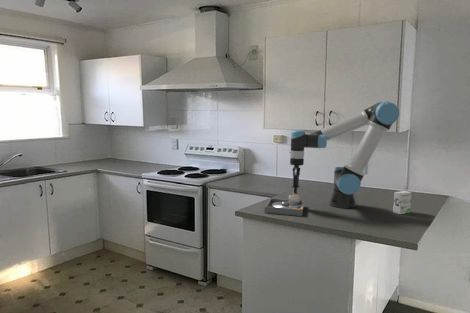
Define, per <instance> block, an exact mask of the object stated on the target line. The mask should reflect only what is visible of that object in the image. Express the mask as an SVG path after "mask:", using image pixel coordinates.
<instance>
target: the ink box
mask: <svg viewBox="0 0 470 313" xmlns="http://www.w3.org/2000/svg"><path fill="white" fill-rule="evenodd" d="M412 196H413V194H412V192H411V191H405V190H402V191H394V195H393V208H392V213H394V214H398V215H403V214H410V213H411V206H412Z"/></svg>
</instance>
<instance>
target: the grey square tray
mask: <svg viewBox="0 0 470 313" xmlns="http://www.w3.org/2000/svg"><path fill="white" fill-rule="evenodd" d="M283 201H286V202H289V199H285V198H283V199H282V198H273V197H271V198H270V197H269V199H268V201H267V202H266V205H265V206H264V213H265V214H272V215H284V216H295V217H297V216H298V217H302V216H303V212H304V209H305V200H299V208H298V209H297V208H293V209H291V208H279V207H272V203H275V202H283Z"/></svg>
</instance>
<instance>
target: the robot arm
mask: <svg viewBox="0 0 470 313" xmlns="http://www.w3.org/2000/svg"><path fill="white" fill-rule="evenodd" d="M399 116H400V109H399V107H398V106H397V105H396V104H395V103H394V102H391V101H379V102H376V103H375V104H373V105H371V106H370V107H368V108H365V109H363V110H362V111H361V112H360V113H358V114H356V115H353V116H351V117H348V118H346V119H343V120H341V121H339V122H336V123H334V124H332V125H329V126H327V127H324V128H322V129H320V130H317V131H314V132H311V133H309V134H308V133H306V131H305V130H300V129H296V130H295V129H294V130H292V131H291V136H290V151H289V154H290V161H289V164H290V166H293V168H292V178H293V181H292V186H291V188H292V195H295V194H299V188H300V186H301V185H299V183H300V182H299V181H300V174H301V167H300V166H304V165H305V164H304V162H305V159H304V158H305V148H306V149H307V148H313V149H326V148H327V142H328V141H330V140H333V139H335V138H338V137H341V136H343V135H345V134H348V133H350V132H353V131H355V130H358V129H360V128H362V127H365V126H368V128H367V129H366V131H365V133H364V135H363V137H362V138H361V139H360V142H359V144H358V145H357V148H356V150H355V152H354V153H353V155H352V157H351V159H350V161H349V162H348V164H345V165H344V166H336V167H334V171H333V173H334V176H333V189H332V194H331V197H330V198H329V205H330V206H332V207H334V208H339V209H353V208H356V207H357V203H356V202H357V201H356V197H355V194H356V193H357V192H358V191H359V190H360V189H361V184H362V183H361V182H362V180H363V179H364V176H365V174H364V173H365V172H364V170H365V169H366V167H367V165H368V164H369V162H370V160H371V158H372V156H373V154H374V153H375V150H376V149H377V147H378V145H379V143H380V142H381V139H382V137H383V136H384V134H385V133H386V132H389V131H390V129H391V128H392V126H393V124H394V123H395V122H397V120H399Z"/></svg>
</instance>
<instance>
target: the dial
mask: <svg viewBox="0 0 470 313" xmlns="http://www.w3.org/2000/svg"><path fill="white" fill-rule="evenodd" d="M288 200H289V202H286V201H283V202H275V203H272V207H279V208H291V209H293V208H297V209H298V208H299V201H300V194H299V193H298V194H295V195H293V194H289V195H288Z"/></svg>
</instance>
